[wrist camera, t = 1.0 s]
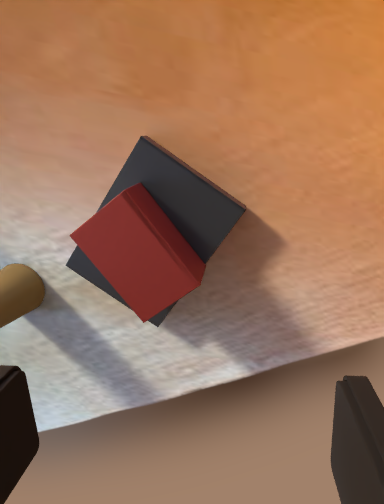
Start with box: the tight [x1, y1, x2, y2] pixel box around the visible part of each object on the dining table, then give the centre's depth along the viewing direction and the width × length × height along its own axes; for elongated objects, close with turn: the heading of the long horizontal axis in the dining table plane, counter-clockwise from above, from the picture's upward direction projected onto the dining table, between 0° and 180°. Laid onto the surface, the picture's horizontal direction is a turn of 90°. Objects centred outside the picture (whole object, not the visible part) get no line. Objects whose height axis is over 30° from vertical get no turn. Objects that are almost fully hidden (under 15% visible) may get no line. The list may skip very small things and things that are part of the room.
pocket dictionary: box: [70, 182, 206, 323], centre depth 35 cm, size 7×10×5 cm, turn 38°
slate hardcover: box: [66, 136, 246, 327], centre depth 38 cm, size 16×12×2 cm
